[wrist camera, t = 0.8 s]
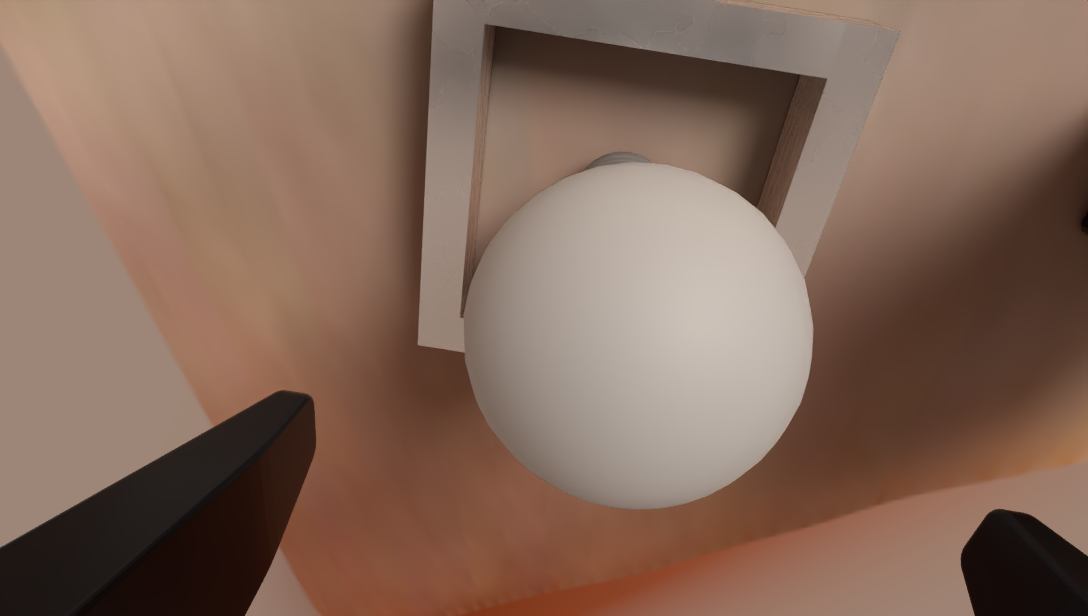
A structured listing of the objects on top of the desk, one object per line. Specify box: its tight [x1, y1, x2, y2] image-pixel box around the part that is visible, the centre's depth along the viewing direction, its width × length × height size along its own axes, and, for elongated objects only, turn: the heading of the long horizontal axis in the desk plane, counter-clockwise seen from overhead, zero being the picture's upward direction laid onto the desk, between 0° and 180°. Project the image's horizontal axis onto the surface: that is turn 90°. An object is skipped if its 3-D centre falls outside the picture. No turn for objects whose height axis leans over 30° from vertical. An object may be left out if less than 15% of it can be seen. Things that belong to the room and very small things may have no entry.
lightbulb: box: [464, 152, 813, 510], centre depth 14 cm, size 6×6×11 cm
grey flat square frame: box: [418, 0, 901, 352], centre depth 18 cm, size 10×10×2 cm
